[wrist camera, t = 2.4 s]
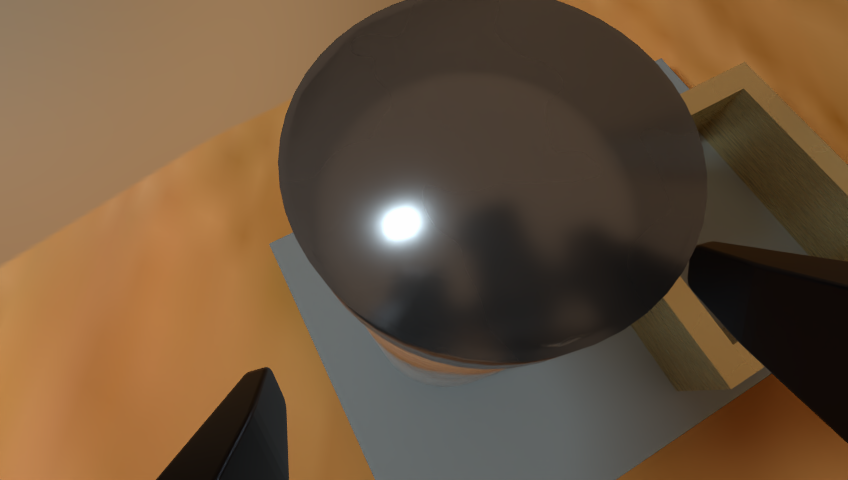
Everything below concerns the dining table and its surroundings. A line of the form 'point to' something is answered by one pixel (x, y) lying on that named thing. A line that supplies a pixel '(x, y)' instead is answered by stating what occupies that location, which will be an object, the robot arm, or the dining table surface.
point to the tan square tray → (778, 191)
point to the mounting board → (526, 379)
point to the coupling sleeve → (491, 182)
